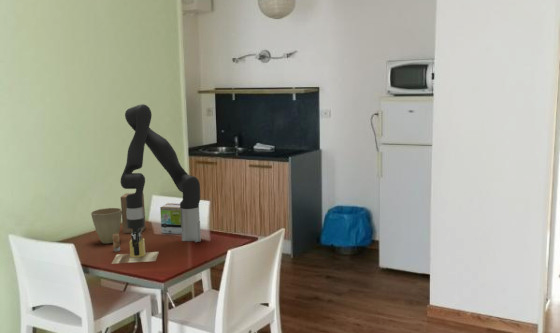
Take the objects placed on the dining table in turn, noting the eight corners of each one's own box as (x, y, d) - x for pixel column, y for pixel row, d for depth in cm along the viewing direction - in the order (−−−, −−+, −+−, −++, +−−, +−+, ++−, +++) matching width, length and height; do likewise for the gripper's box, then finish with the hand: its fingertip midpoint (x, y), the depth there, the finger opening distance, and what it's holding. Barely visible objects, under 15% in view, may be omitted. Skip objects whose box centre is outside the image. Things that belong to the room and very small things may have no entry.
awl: (121, 252, 264) (119, 233, 263) (119, 253, 261) (118, 235, 260) (114, 252, 264) (113, 234, 262) (113, 254, 261) (111, 235, 259)
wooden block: (141, 232, 299) (138, 196, 296) (122, 233, 299) (120, 196, 296) (146, 228, 309) (143, 192, 306) (128, 228, 309) (125, 193, 306)
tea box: (161, 233, 295) (159, 206, 293) (168, 229, 305) (167, 202, 303) (187, 234, 292) (186, 207, 290) (194, 229, 302) (193, 203, 300)
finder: (145, 253, 256) (144, 238, 255) (144, 256, 251) (143, 240, 251) (131, 254, 256) (130, 238, 255) (130, 257, 251) (129, 241, 250)
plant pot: (113, 236, 294) (110, 206, 291) (129, 240, 284) (127, 209, 282) (87, 242, 282) (85, 212, 280) (104, 247, 273) (101, 215, 271)
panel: (159, 254, 259) (158, 251, 258) (155, 263, 245) (155, 260, 245) (117, 256, 257) (116, 254, 256) (111, 266, 243) (111, 263, 243)
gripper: (141, 220, 245) (144, 257, 247) (145, 213, 259) (147, 248, 261) (124, 221, 244) (126, 258, 246) (129, 213, 258) (131, 249, 260)
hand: (137, 253), depth 253 cm, fingers closed on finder, 5 cm apart
